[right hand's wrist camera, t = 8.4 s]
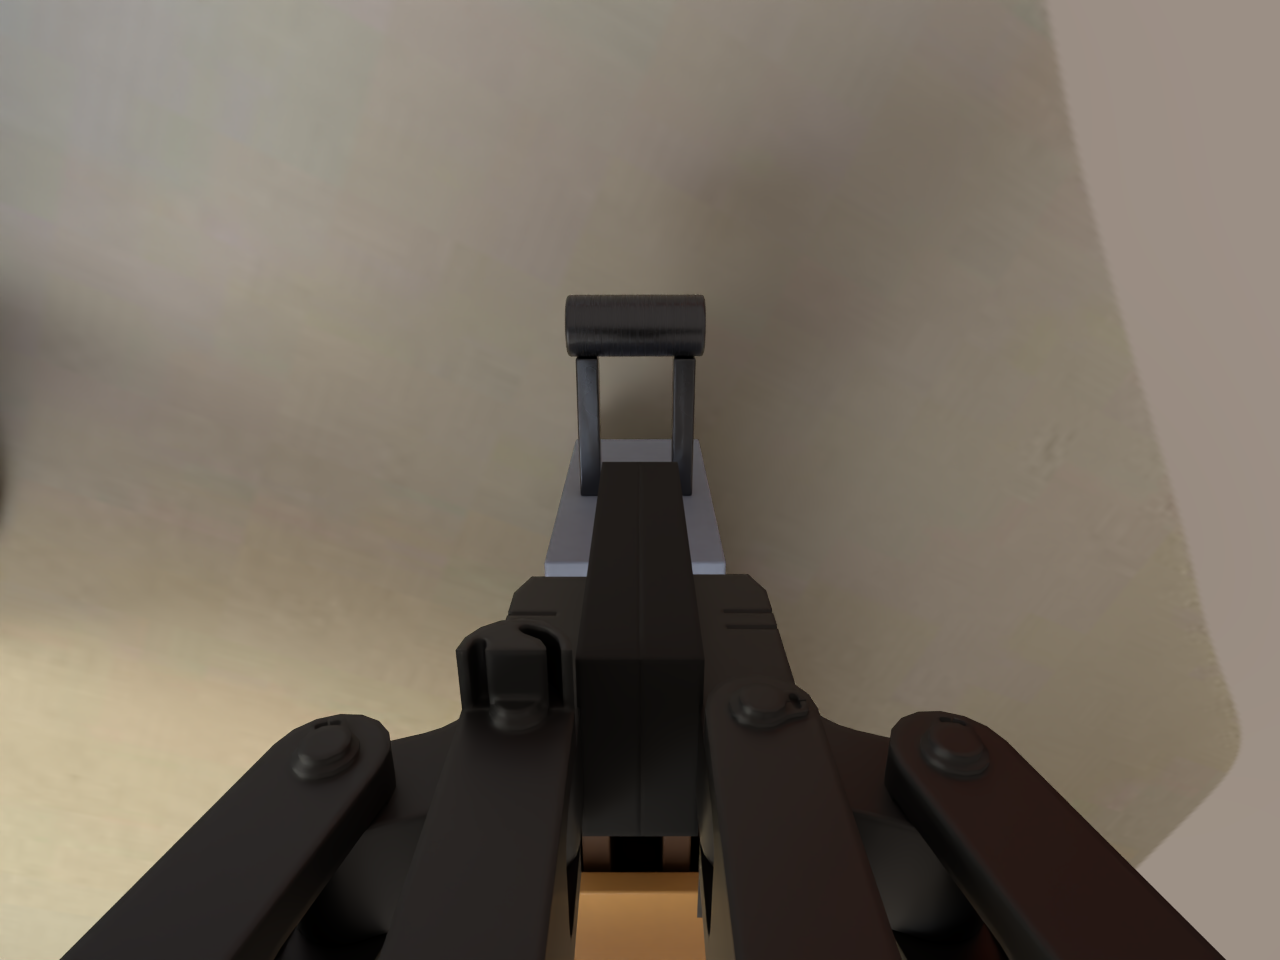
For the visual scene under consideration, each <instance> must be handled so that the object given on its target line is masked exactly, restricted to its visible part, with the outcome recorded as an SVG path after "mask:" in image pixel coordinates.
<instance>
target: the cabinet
mask: <svg viewBox="0 0 1280 960" xmlns="http://www.w3.org/2000/svg"><path fill="white" fill-rule="evenodd" d="M580 855H581V883H580V895H579V907H578V919H577V932H576V944H575V956H574V960H706V955H705V943H704V931H703V918H697V904H698V879H699V855H700V834H699V823H698V836H691V855H690V872H584V871H583V847H582V827H581V838H580Z"/></svg>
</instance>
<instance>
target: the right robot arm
mask: <svg viewBox="0 0 1280 960" xmlns="http://www.w3.org/2000/svg"><path fill="white" fill-rule="evenodd" d="M456 657H457V667H458V676H459V685H460V694H461V703H462V712H461V715H460V718H459V719H458V720H457V721H455V722H452V723H450V724H448V725H446V726H444V727H442V728H439V729H436V730H433V731H430V732H426V733H423V734H419V735H414V736H410V737H405V738H401V739H397V740H392V741H390V736H389V732H388V731H387V730H386V728H385V727H384V726H383V725H382V724H381V723H380V722H379V721H378V720H375V719H372V718H369V717H367V716H364V715H352V714H339V715H334V716H329V717H325V718H320V719H316V720H314V721H312V722H309V723H307V724H305V725H303V726H300V727H298V728H296V729H294V730H292V731H291V732H290V733H288V734H287V735H286V736H284V737H283V738H282V739H281V740H279V741H278V742H277V743H275V744H274V745H273V746H272V747H271V748H270V749H269V750H268V751H267V752H266V753H265V754H264V755H263V756H262V757H261V758H260V759H259V760H258V761H257V762H256V763H255V764H254V765H253V766H252V767H251V768H250V769H249V770H248V771H247V772H246V773H245V774H244V775H243V776H242V777H241V778H240V779H239V780H238V781H237V782H236V783H235V784H234V785H233V786H232V787H231V788H230V789H229V790H228V791H227V792H226V793H225V794H224V795H223V796H222V797H221V798H220V799H219V800H218V801H217V802H216V803H215V804H214V805H213V806H212V807H211V808H210V809H209V810H208V811H207V812H206V813H205V814H204V815H203V816H202V817H201V818H200V819H199V820H198V821H197V822H196V823H195V824H194V825H193V826H192V827H191V828H190V829H189V830H188V831H187V832H186V833H185V834H184V835H183V836H182V837H181V838H180V839H179V840H178V841H177V842H176V843H175V844H174V845H173V846H172V847H171V848H170V849H169V850H168V851H167V852H166V853H165V854H164V855H163V856H162V857H161V858H160V859H159V860H158V861H157V862H156V863H155V864H154V865H153V866H152V867H151V868H150V869H149V870H148V871H147V872H146V873H145V874H144V875H143V876H142V877H141V878H140V879H139V881H138V882H137V883H136V884H135V885H134V886H133V887H132V888H131V889H130V890H129V891H128V892H127V893H126V894H125V895H124V896H123V897H122V898H121V899H120V900H119V901H118V902H117V903H116V904H115V905H114V906H113V907H112V908H111V909H110V910H109V911H108V912H107V913H106V914H105V915H104V916H103V917H102V918H101V919H100V920H99V921H98V922H97V923H96V924H95V925H94V926H93V927H92V928H91V929H90V930H89V931H88V932H87V933H86V934H85V935H84V936H83V937H82V938H81V939H80V940H79V941H78V942H77V943H76V944H75V945H74V946H73V947H72V948H71V949H70V950H69V951H68V952H67V953H66V954H65V955H64V956H63V957H62V958H61V959H60V960H574V956H575V944H576V932H577V919H578V907H579V895H580V883H581V855H580V838H581V827H582V836H698V823H699V834H700V855H699V879H698V904H697V918H703V931H704V943H705V955H706V960H1226V959H1225V958H1224V957H1223V956H1222V955H1221V954H1220V953H1219V952H1218V951H1217V950H1216V949H1215V948H1214V947H1213V946H1212V945H1211V944H1210V943H1209V942H1208V941H1207V940H1206V939H1205V938H1204V937H1203V936H1202V935H1201V934H1200V933H1199V932H1198V931H1197V930H1196V929H1195V928H1194V927H1193V926H1192V925H1190V923H1189V922H1188V921H1186V920H1185V918H1184V917H1182V915H1181V914H1180V913H1178V912H1177V911H1176V910H1175V909H1174V908H1173V907H1172V906H1171V905H1170V904H1169V903H1168V902H1167V901H1166V900H1165V899H1164V898H1163V897H1162V896H1161V895H1160V894H1159V893H1158V892H1157V891H1156V890H1155V889H1154V888H1153V887H1152V886H1151V885H1150V884H1149V883H1148V882H1147V881H1146V880H1145V879H1144V878H1143V877H1142V876H1141V875H1140V874H1139V873H1138V872H1137V871H1136V870H1135V869H1134V868H1133V867H1132V866H1131V865H1130V864H1129V863H1128V862H1127V861H1126V860H1125V859H1124V858H1123V857H1122V856H1121V855H1120V854H1119V853H1118V852H1117V851H1116V850H1115V849H1114V848H1113V847H1112V846H1111V845H1110V844H1109V843H1108V842H1107V841H1106V840H1105V839H1104V838H1103V837H1102V836H1101V835H1100V834H1099V833H1098V832H1097V831H1096V830H1095V829H1094V828H1093V827H1092V826H1091V825H1090V824H1089V823H1088V822H1087V821H1086V820H1085V819H1084V818H1083V817H1082V816H1081V815H1080V814H1079V813H1078V812H1077V811H1076V810H1075V809H1074V808H1073V807H1072V806H1071V805H1070V804H1069V803H1068V802H1067V801H1066V800H1065V799H1064V798H1063V797H1062V796H1061V795H1060V794H1059V793H1058V792H1057V791H1056V790H1055V789H1054V788H1053V787H1052V786H1051V785H1050V784H1049V783H1048V782H1047V781H1046V780H1045V779H1044V778H1043V777H1042V776H1041V775H1040V774H1039V773H1038V772H1037V771H1036V770H1035V769H1034V768H1033V767H1032V766H1031V765H1030V764H1029V763H1028V762H1027V761H1026V760H1025V759H1024V758H1023V757H1022V756H1021V755H1020V754H1019V753H1018V752H1017V751H1016V750H1015V749H1014V748H1013V747H1012V746H1011V745H1010V744H1009V743H1008V742H1007V741H1006V740H1004V739H1003V738H1002V737H1000V736H999V735H998V734H996V733H995V732H994V731H992V730H991V729H990V728H989V727H987V726H985V725H983V724H981V723H978V722H976V721H974V720H972V719H969V718H967V717H965V716H961V715H956V714H952V713H947V712H942V711H926V712H916V713H914V714H911V715H908V716H905V717H903V718H901V719H900V720H899V721H898V723H897V724H896V725H895V726H894V727H893V728H892V730H891V736H890V738H888V737H883V736H879V735H874V734H870V733H866V732H861V731H857V730H853V729H850V728H847V727H844V726H840V725H838V724H836V723H834V722H832V721H830V720H827V719H825V718H823V717H822V716H821V715H820V714H819V711H818V708H817V707H816V705H815V703H814V702H813V700H812V699H811V697H810V696H809V694H807V693H806V692H804V691H803V690H802V689H800V688H799V687H798V686H796V685H795V682H794V679H793V676H792V673H791V669H790V666H789V663H788V660H787V657H786V653H785V650H784V647H783V644H782V640H781V637H780V634H779V631H778V629H777V624H776V621H775V618H774V615H773V613H772V608H771V605H770V602H769V599H768V595H767V592H766V590H765V589H764V588H763V587H762V586H760V585H759V584H758V583H757V582H756V581H755V580H754V579H753V578H752V577H751V576H750V575H748V574H693V570H692V562H691V555H690V548H689V540H688V533H687V526H686V518H685V511H684V504H683V496H682V489H681V482H680V474H679V467H678V462H602V467H601V474H600V482H599V489H598V496H597V504H596V511H595V518H594V526H593V533H592V540H591V548H590V555H589V562H588V570H587V577H531V578H530V579H529V580H528V581H527V582H525V583H524V584H523V585H522V586H521V587H520V588H519V589H518V590H517V591H516V592H515V593H514V595H513V598H512V601H511V605H510V608H509V611H508V616H507V618H506V620H503V621H499V622H496V623H492V624H489V625H486V626H483V627H481V628H479V629H478V630H476V631H474V632H473V633H471V634H470V635H468V636H467V637H465V638H464V640H463V641H462V642H461V644H460V645H459V646H458V648H457V649H456Z"/></svg>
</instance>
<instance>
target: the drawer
mask: <svg viewBox="0 0 1280 960" xmlns="http://www.w3.org/2000/svg"><path fill="white" fill-rule="evenodd" d="M705 335H706V307H705V299H704V296H703V295H569V296H567V299H566V306H565V336H566V347H567V352H568V355H569V356H571V357H577V358H576V382H577V411H578V439H577V440H576V442H575V446H574V450H573V454H572V458H571V461H570V465H569V469H568V473H567V477H566V481H565V485H564V489H563V493H562V497H561V501H560V504H559V508H558V512H557V516H556V520H555V524H554V528H553V532H552V536H551V540H550V544H549V548H548V551H547V555H546V559H545V563H544V565H545V577H587V570H588V562H589V555H590V548H591V540H592V533H593V526H594V518H595V511H596V504H597V496H598V489H599V482H600V474H601V467H602V462H678V467H679V474H680V482H681V489H682V496H683V504H684V511H685V518H686V526H687V533H688V540H689V548H690V555H691V562H692V570H693V574H726V561H725V557H724V552H723V548H722V543H721V539H720V534H719V530H718V525H717V521H716V516H715V512H714V507H713V502H712V498H711V493H710V489H709V484H708V480H707V475H706V471H705V466H704V462H703V457H702V453H701V448H700V444H699V440H698V439H694V405H695V367H696V360H695V356H702V355H703V353H704V348H705ZM599 356H673V358H672V427H671V439H601V414H600V370H599ZM582 847H583V871H584V872H690V855H691V836H582Z"/></svg>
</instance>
